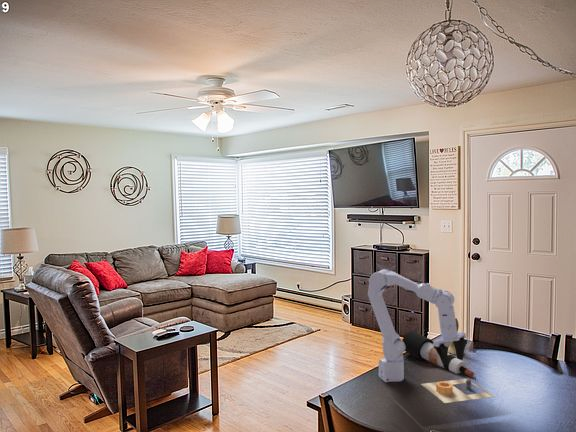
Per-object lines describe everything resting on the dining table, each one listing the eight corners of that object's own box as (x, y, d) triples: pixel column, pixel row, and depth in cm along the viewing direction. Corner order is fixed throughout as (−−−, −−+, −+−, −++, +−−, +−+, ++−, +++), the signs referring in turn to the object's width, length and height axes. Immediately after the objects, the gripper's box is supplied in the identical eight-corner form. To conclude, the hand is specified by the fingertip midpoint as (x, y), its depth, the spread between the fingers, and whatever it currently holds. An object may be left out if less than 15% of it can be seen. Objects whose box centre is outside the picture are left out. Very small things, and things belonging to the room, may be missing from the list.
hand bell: (468, 355, 199) (468, 320, 199) (450, 355, 199) (450, 321, 198) (460, 348, 208) (460, 315, 207) (443, 349, 207) (443, 316, 207)
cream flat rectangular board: (444, 406, 151) (444, 393, 151) (420, 387, 166) (420, 375, 166) (494, 399, 155) (494, 387, 155) (466, 381, 171) (466, 370, 171)
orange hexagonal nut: (441, 395, 156) (441, 388, 156) (433, 389, 162) (433, 382, 162) (455, 393, 158) (455, 386, 158) (446, 387, 163) (446, 380, 163)
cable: (466, 392, 172) (460, 373, 168) (405, 356, 201) (399, 339, 198) (483, 376, 175) (477, 357, 172) (420, 343, 205) (414, 326, 201)
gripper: (441, 330, 154) (446, 369, 154) (470, 322, 160) (475, 359, 160) (427, 327, 160) (431, 364, 160) (455, 319, 167) (460, 355, 166)
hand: (452, 361), depth 160 cm, fingers open, 7 cm apart
